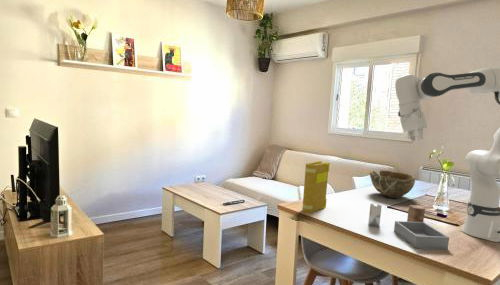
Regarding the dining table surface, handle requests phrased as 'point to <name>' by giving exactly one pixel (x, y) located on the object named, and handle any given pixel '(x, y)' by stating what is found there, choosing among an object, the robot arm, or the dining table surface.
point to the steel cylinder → (374, 215)
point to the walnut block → (415, 213)
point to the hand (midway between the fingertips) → (416, 139)
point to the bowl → (392, 183)
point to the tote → (421, 235)
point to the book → (315, 186)
